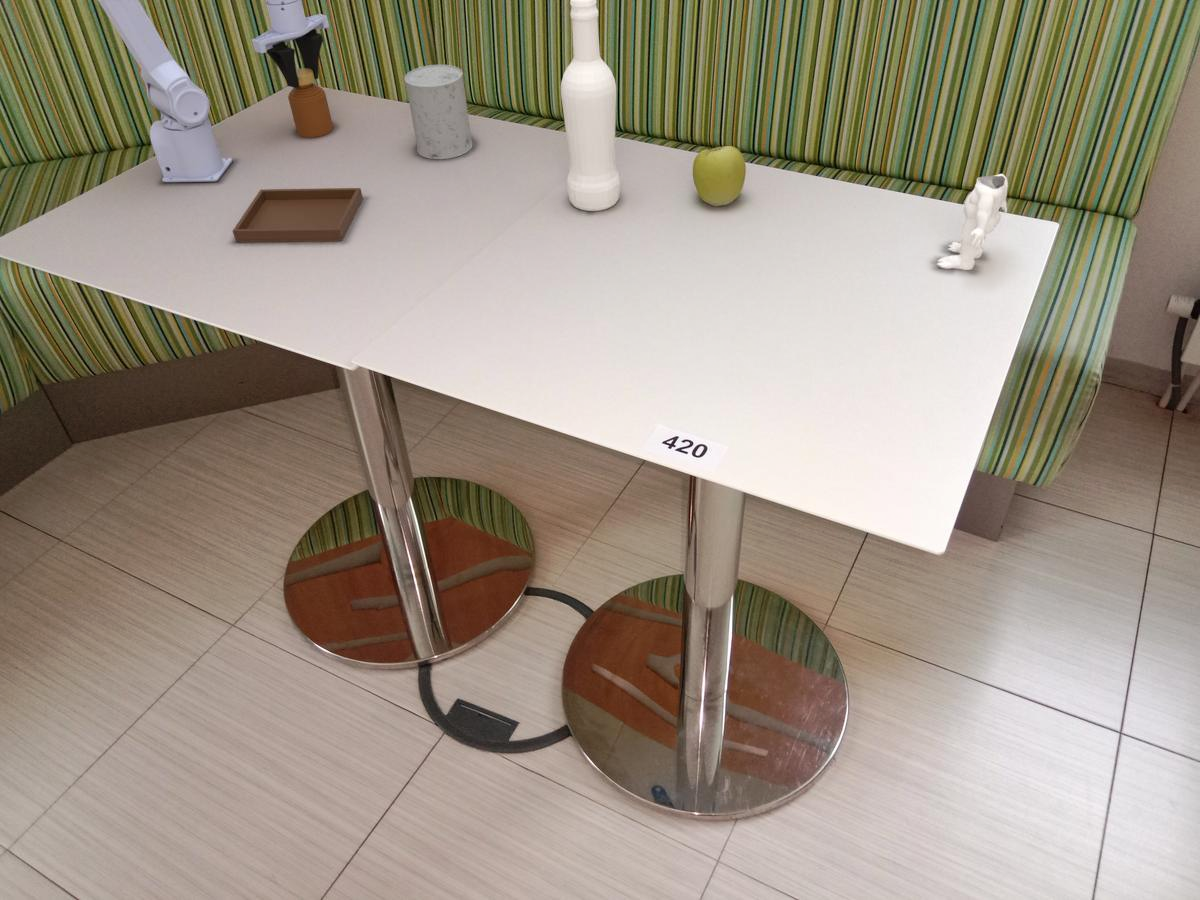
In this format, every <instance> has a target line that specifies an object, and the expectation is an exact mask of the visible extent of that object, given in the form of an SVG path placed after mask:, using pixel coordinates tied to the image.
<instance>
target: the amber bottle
mask: <svg viewBox="0 0 1200 900" xmlns="http://www.w3.org/2000/svg"><path fill="white" fill-rule="evenodd" d="M287 98H288V103H289V106H290V111H291V114H292V119H293V123H294V126H295V130H296V133H297V135H298V136H299V137H302V138H308V139H309V138H311V139H313V138H320V137H323V136H326V135H328V134H330V133H332V132H333V130H334V124H333V120H332V116H331V111H330V106H329V103H328V98H327V94H326V91H325V90H324V89H323V87H321V86H319V85H317V84H315V83H314V82H313V83H311V84H308V85H304V86H299V87H297V88H294V87H292V89H291V90H290V92H289V93H288V96H287Z"/></svg>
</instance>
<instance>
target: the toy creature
mask: <svg viewBox="0 0 1200 900" xmlns="http://www.w3.org/2000/svg"><path fill="white" fill-rule="evenodd" d="M1008 188H1009V181H1008V178H1007V177H1006V176H1005V174H1003V173H998V174H994V175H985V176H984V175H983V176H979V177H977V178H976V183H975V185H974V188H973V189H972V191H971V192H970V193H969V194H968V195H967V197H966V199H965V201H964V204H963V213H964V215H965V219H964V221H963V224H962V228H961V235H960V236H959V241H960V242H957V241H952V242H951V244H949V245H948V247H949V248H947V250H948V251H950V252H952V253H958V254H953V255H952V254H951V255H949V256H942V257H941V258H940V259H938V260H937V263H936V266H939V267H940V268H941V269H946V270H949V269H956V270H963V271H972V270H973V269H974V266H975V263H976V262H975V259H980V257H981V256H982V254H983V250H984V248H983V247H984V246H985V244H986V235H988V234H991V233H993V231H994V230H995V229H996V227H997V225H999V223H1000V221H1001V217H1002V216H1001V213H1000V209H1001V210H1002V211H1004V214H1007V212H1008V205H1007V196H1008Z"/></svg>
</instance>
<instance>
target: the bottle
mask: <svg viewBox="0 0 1200 900" xmlns="http://www.w3.org/2000/svg"><path fill="white" fill-rule="evenodd" d="M597 3H598V1H597V0H570V1H569V4H570V6H571V9H570V14H569V16H570V19H571V31H572V32H571V33H572V53H573V54H572V57H573V58H572V60H571V62H570V64H568V65H567V67H566V69H565V70H564V72H563V74H562V75H563V76H562V79H561V82H560V98H561V104H562V112H563V120H564V121H563V122H564V127H565V136H566V143H567V150H568V158H569V159H568V160H569V172H568V174H567V179H566V188H567V189H566V190H567V195H568V199H569V202H570V203H571V205H572V206H573V207H575V208H576V209H578V210H582V211H587V212H598V211H603V210H607V209H609V208H612V207H613V206H614V205H615V204H616V203H617V202H618V200H619V198H620V194H621V193H620V192H621V178H620V174H619V172H618V170H617V167H616V166H617V165H616V155H615V154H616V120H617V119H616V115H617V84H616V79H615V77H614V74H613V72H612V70H611V68H610V67H609V66H608V65H607V63H606V62H605V61H604V60H603V59H602V57H601V51H600V37H599V22H598V18H599V10H598V8H597V7H598V6H597Z"/></svg>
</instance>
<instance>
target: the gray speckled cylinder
mask: <svg viewBox="0 0 1200 900" xmlns="http://www.w3.org/2000/svg"><path fill="white" fill-rule="evenodd" d="M463 76H464V73H463V70H462V69H461V68H460V67H458V66H455V65H451V64H429V65H423V66H420V67H417V68H414V69H411V70H410V71H408V72H407V73H406V74H405V75H404V77H403V79H404V83H405V86H406V87H405V88H406V93H407V98H408V103H409V109H410V116H411V120H412V126H413V133H414V136H415V144H416V152H417V154H418V155H419V156H421V157H423V158H426V159H431V160H449V159H454V158H458V157H460V156H463V155H465V154H466V153H468V152H469V151H470V150H471V149H472V148H473V141H472V134H471V126H470V120H469V112H468V106H467V105H468V104H467V98H466V91H465V84H464V77H463Z"/></svg>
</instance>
